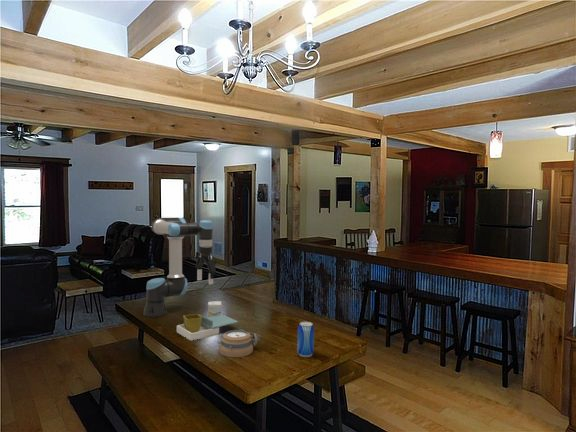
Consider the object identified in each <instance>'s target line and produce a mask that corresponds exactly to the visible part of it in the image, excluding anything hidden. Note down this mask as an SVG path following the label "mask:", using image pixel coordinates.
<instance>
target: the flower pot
mask: <svg viewBox="0 0 576 432" xmlns="http://www.w3.org/2000/svg"><path fill="white" fill-rule="evenodd" d="M200 315H201V314H199V313H193V314H186V315H184V314H183V316H182V317H183V324H184V325H185V328H186V330H187V331H189V332H191V333H195V332H198V331H199V329H200V326H201V320H202V317H201V316H200Z"/></svg>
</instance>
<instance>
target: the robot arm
mask: <svg viewBox="0 0 576 432" xmlns="http://www.w3.org/2000/svg"><path fill="white" fill-rule="evenodd" d="M151 223H152V224H151V227H150V228H151V230H152V232H154V233H153V234H156V235H161V236H162V235H163V236H166V238H167V239H168V258H169V259H168V270H169V272H168V275H167V276H166V279H165V278H164V277H157V278H156V277H155V278H152V279H150V280H147V282H146V286H145V287H146V303H145V306H144V309H143V316H145V317H148V318H155V317H157V318H158V317H163V316H165V315H167V314H168V308H167V305H166V301H165V299H166V298H167V297H168V298H169V297H178V296H183V295H185V294H186V293H187V290H188V286H189V285H188V284H189V283H188V279H187V278H186V277H185V275H184V274H183V239H184V238H185V237H186V236H189V237H190V236H199V240H198V243H199V248H198V254H197V260H196V263H195V266H194V267H195V269H196V270H197V271H196V273H197V274H196V275H197V276H196V278H197V279H196V281H203V266H204V264H206V267H207V269H208V285H214V278H215V277H214V274H215V273H216V272H217V270H216V264H215V260H214V256H213V255H211V254H212V253H213V247H212V246H213V232H214V231H213V230H214V229H213V228H214V226H213V221H212V220H205V219H203V220H200V221H199V222H187V221H186V219H185V218H183V217H158V218H156V219H155V220H153V221H152V222H151Z"/></svg>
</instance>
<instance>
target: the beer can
mask: <svg viewBox="0 0 576 432" xmlns="http://www.w3.org/2000/svg"><path fill="white" fill-rule="evenodd" d="M296 340H297V345H296V348H297V349H296V352H297V354H298V356H299V357H301V358H310V357H312V356H313V354H314V353H315V352H314V351H315V349H314V348H315V327H314V323H312V322H310V321H301V322H299V325H298V327H297V339H296Z"/></svg>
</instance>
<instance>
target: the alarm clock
mask: <svg viewBox="0 0 576 432" xmlns="http://www.w3.org/2000/svg"><path fill="white" fill-rule="evenodd" d="M252 334H253V335H252ZM260 337H261V336H260V334H258V333H255V332H248V331H246V330H244V329H232V330H228V331H226V332H223V335H222V338H221V341H219V342H217V344H219V353H220V354H221V355H222V356H224V357H228V358H242V357H243V358H244V357H246V356H249V355H251V354H252V353H253V351H254V347H255V346H257V344H258V342H259V341H261V339H260Z"/></svg>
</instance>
